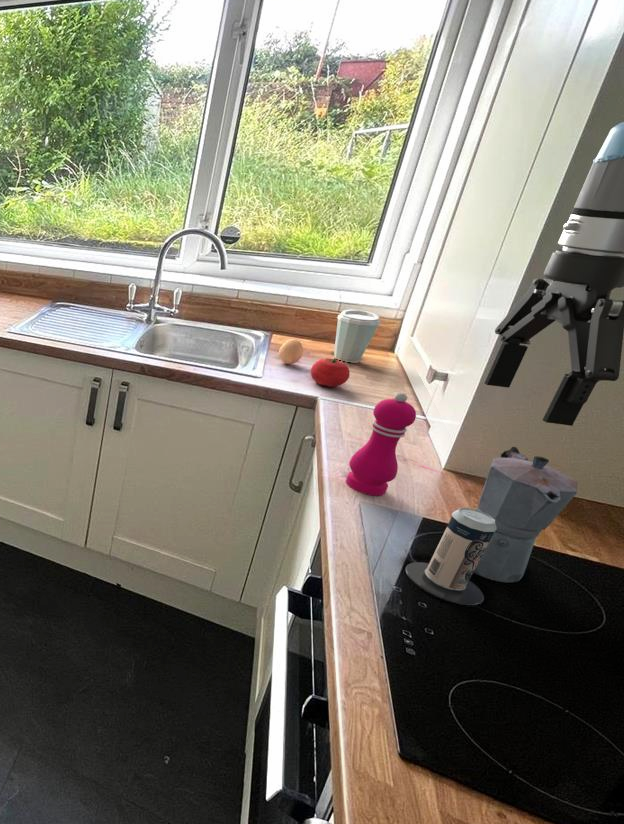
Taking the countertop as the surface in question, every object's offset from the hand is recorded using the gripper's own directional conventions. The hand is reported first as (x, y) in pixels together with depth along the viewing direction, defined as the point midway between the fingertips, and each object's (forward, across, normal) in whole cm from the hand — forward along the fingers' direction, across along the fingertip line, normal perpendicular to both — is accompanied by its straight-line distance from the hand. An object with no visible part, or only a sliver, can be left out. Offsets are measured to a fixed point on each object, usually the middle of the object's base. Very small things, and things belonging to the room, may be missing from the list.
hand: (524, 403), depth 82 cm
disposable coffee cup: (+28, -107, +18) cm, 112 cm away
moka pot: (+28, -2, +5) cm, 28 cm away
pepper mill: (+28, -21, -5) cm, 35 cm away
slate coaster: (+28, +7, -4) cm, 29 cm away
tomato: (+28, -80, +5) cm, 85 cm away
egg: (+28, -95, -1) cm, 99 cm away
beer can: (+28, +7, -4) cm, 29 cm away
